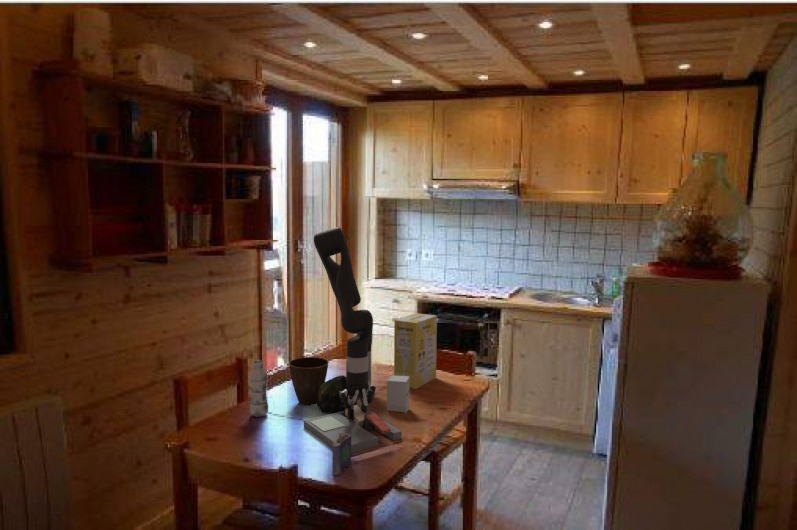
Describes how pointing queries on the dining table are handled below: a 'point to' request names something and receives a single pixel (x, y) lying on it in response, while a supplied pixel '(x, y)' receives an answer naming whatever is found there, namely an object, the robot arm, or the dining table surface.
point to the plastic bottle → (258, 390)
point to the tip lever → (373, 422)
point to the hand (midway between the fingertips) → (357, 417)
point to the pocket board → (346, 431)
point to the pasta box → (415, 348)
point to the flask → (341, 453)
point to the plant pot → (308, 378)
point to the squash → (331, 395)
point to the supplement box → (398, 393)
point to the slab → (357, 416)
